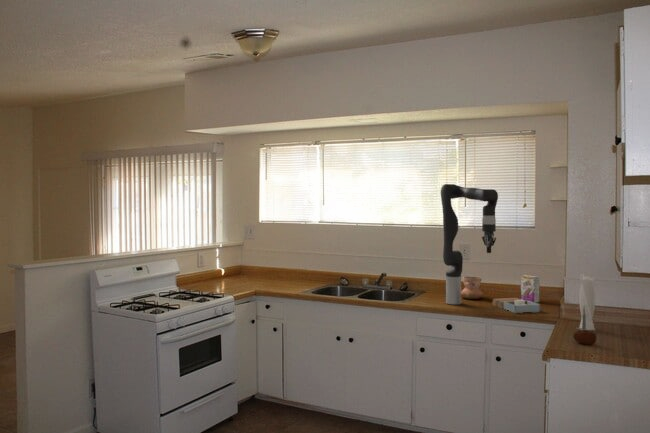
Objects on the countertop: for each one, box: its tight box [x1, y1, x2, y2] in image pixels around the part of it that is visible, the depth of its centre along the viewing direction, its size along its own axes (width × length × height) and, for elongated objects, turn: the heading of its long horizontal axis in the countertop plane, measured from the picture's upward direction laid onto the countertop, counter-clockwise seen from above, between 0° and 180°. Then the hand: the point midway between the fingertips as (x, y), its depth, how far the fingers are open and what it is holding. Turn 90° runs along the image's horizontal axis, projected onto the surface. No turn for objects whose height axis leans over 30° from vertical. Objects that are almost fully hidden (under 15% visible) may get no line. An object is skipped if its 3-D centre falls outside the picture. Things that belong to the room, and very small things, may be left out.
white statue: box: [576, 273, 597, 332], centre depth 282 cm, size 8×8×28 cm
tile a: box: [514, 300, 525, 305], centre depth 333 cm, size 5×5×3 cm
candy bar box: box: [520, 274, 540, 304], centre depth 359 cm, size 11×5×16 cm, turn 28°
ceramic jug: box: [461, 275, 484, 300], centre depth 373 cm, size 18×14×14 cm
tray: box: [503, 301, 541, 314], centre depth 330 cm, size 13×16×4 cm
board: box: [492, 297, 527, 310], centre depth 343 cm, size 13×16×4 cm
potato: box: [572, 330, 598, 346], centre depth 252 cm, size 7×9×6 cm
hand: (488, 252), depth 329 cm, fingers closed
